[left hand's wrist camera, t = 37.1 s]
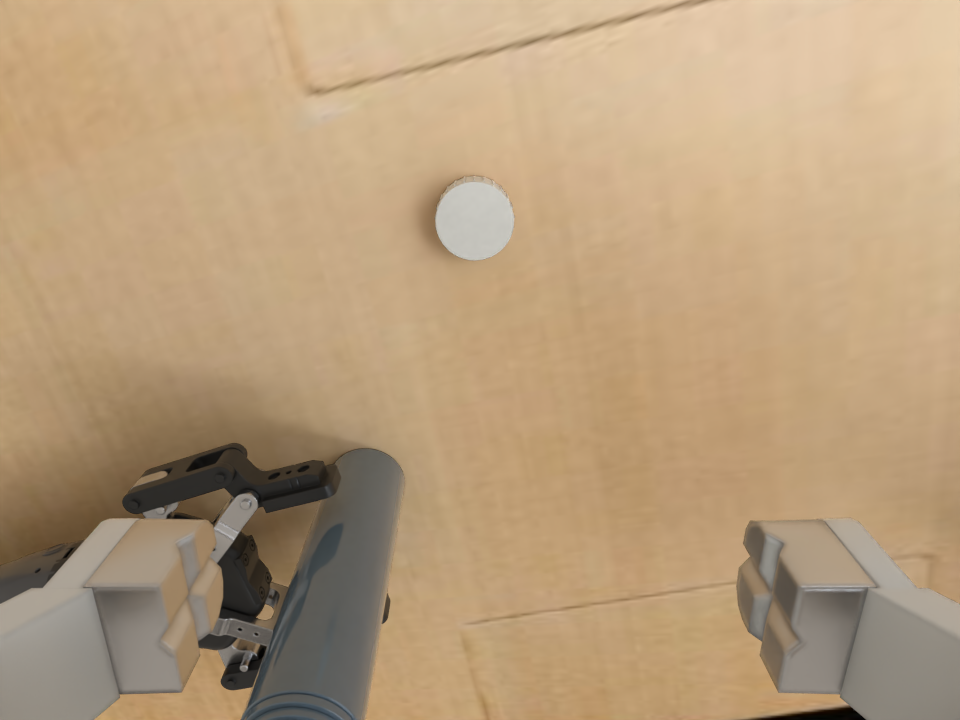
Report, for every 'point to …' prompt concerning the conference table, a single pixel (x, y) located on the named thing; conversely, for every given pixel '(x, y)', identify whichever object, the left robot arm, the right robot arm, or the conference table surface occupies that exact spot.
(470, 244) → the cap
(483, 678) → the conference table surface
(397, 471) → the bottle
